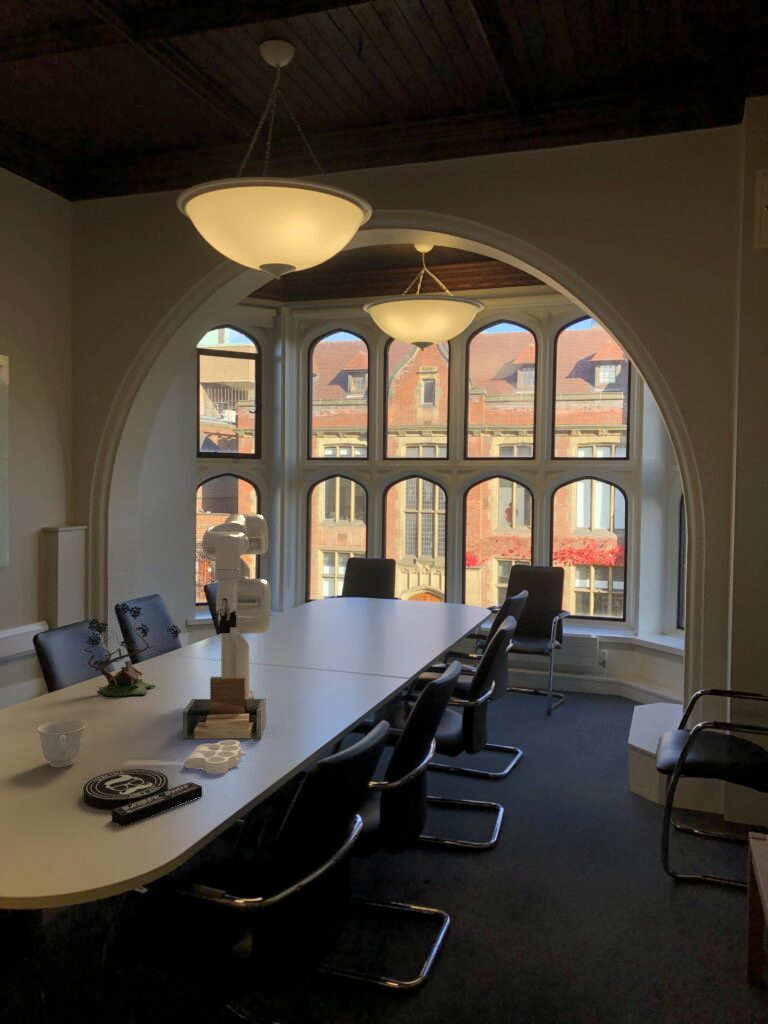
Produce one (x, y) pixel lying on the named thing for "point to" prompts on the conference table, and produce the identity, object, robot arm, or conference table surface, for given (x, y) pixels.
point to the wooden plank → (227, 695)
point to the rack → (201, 709)
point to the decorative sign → (136, 794)
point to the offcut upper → (227, 721)
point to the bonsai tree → (128, 676)
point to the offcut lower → (222, 732)
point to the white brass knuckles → (215, 756)
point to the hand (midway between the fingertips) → (228, 630)
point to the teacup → (61, 741)
